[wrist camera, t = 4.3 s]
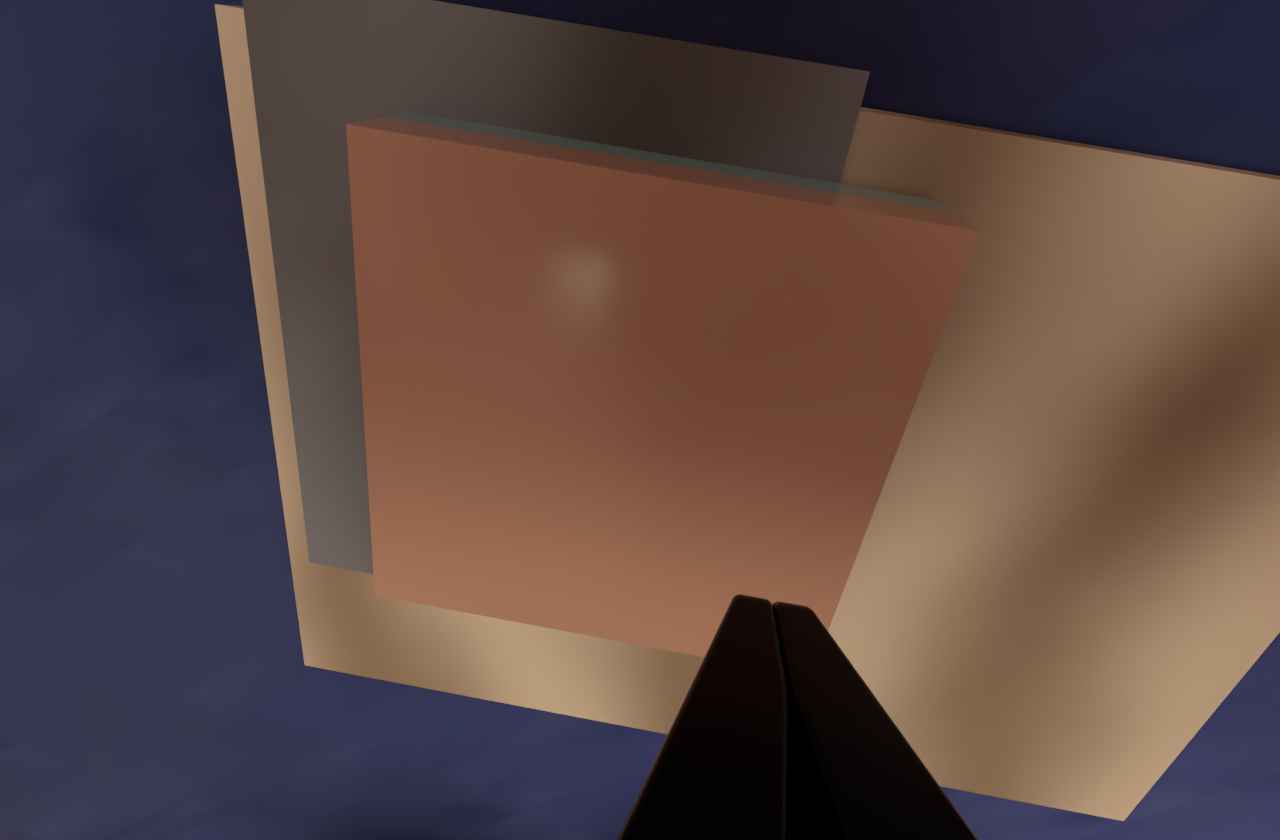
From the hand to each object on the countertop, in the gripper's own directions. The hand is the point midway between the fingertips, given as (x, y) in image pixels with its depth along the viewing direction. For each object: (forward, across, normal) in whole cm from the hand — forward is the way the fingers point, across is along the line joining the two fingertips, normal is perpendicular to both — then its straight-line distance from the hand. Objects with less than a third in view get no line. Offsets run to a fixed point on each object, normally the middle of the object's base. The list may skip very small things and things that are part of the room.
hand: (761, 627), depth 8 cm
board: (+6, -1, +2) cm, 7 cm away
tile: (+4, -2, 0) cm, 5 cm away
